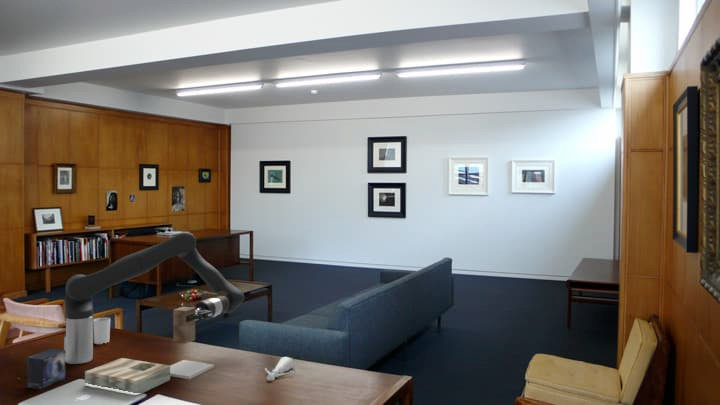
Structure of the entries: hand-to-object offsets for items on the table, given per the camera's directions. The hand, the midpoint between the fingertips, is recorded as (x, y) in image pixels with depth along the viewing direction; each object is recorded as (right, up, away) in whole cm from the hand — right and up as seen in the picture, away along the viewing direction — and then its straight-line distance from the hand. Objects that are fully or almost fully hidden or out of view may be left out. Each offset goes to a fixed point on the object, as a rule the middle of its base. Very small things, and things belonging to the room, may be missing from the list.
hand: (179, 318), depth 190 cm
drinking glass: (-47, -19, +37) cm, 63 cm away
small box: (-42, -20, -12) cm, 48 cm away
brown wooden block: (+1, -9, +3) cm, 9 cm away
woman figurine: (+36, -21, +2) cm, 42 cm away
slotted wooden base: (-14, -20, -10) cm, 27 cm away
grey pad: (+1, -20, +3) cm, 20 cm away
